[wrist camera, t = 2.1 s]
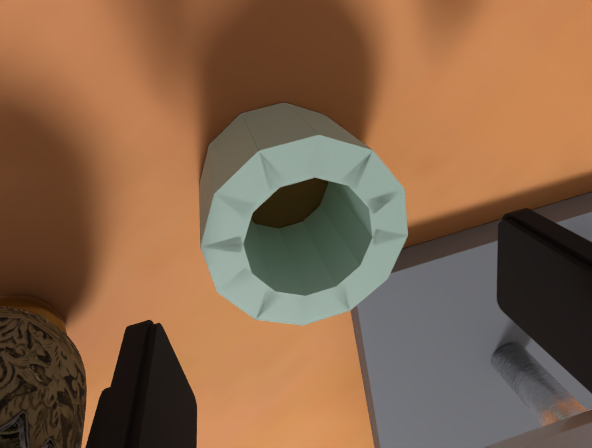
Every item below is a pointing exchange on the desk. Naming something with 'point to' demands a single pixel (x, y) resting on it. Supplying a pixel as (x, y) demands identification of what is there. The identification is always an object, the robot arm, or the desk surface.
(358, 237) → the bead
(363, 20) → the desk surface
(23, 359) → the cup
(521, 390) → the rod
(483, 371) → the board
